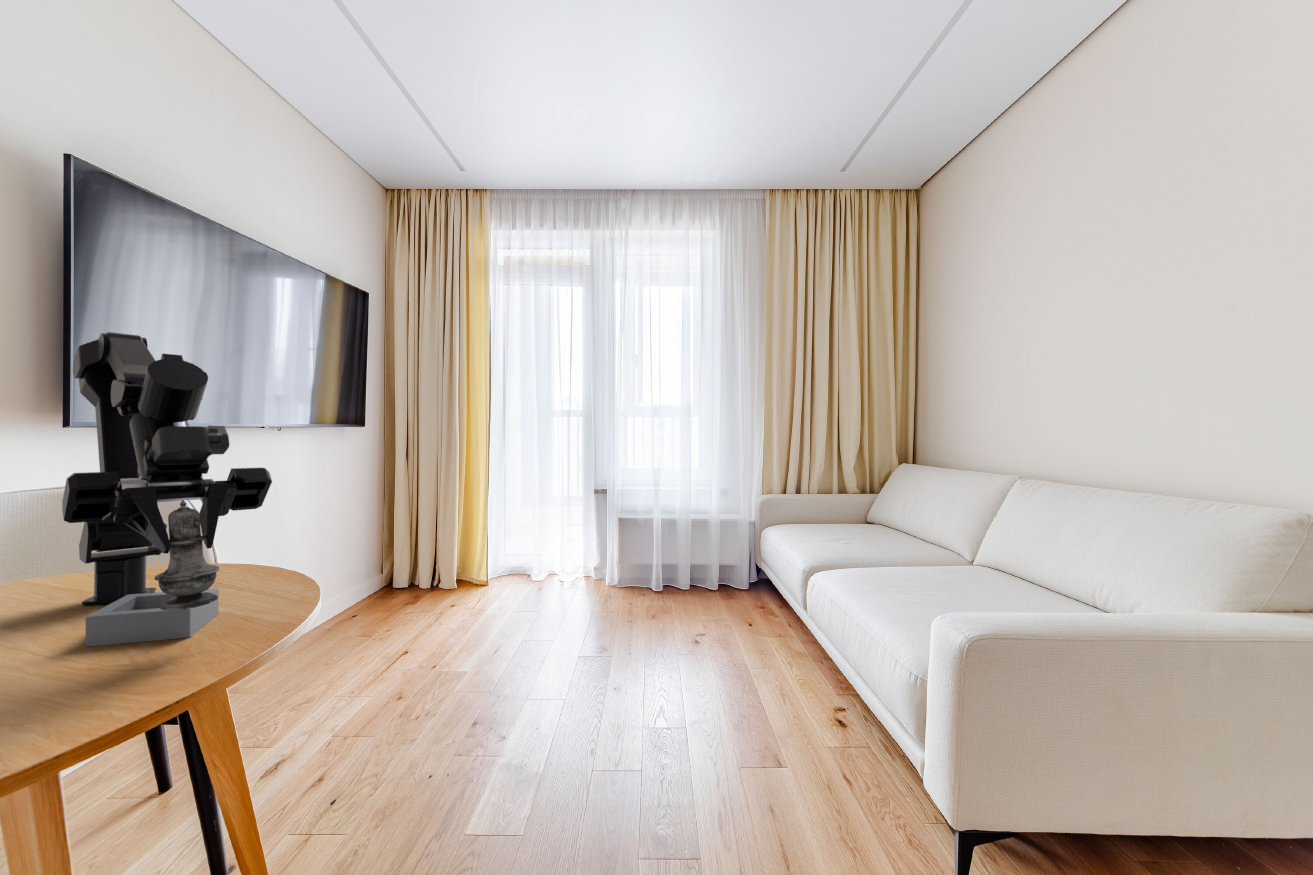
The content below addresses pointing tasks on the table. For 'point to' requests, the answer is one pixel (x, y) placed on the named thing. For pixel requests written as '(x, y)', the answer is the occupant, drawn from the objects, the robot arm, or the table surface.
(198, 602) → the salt shaker
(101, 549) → the robot arm
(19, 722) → the table surface
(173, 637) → the socket block
